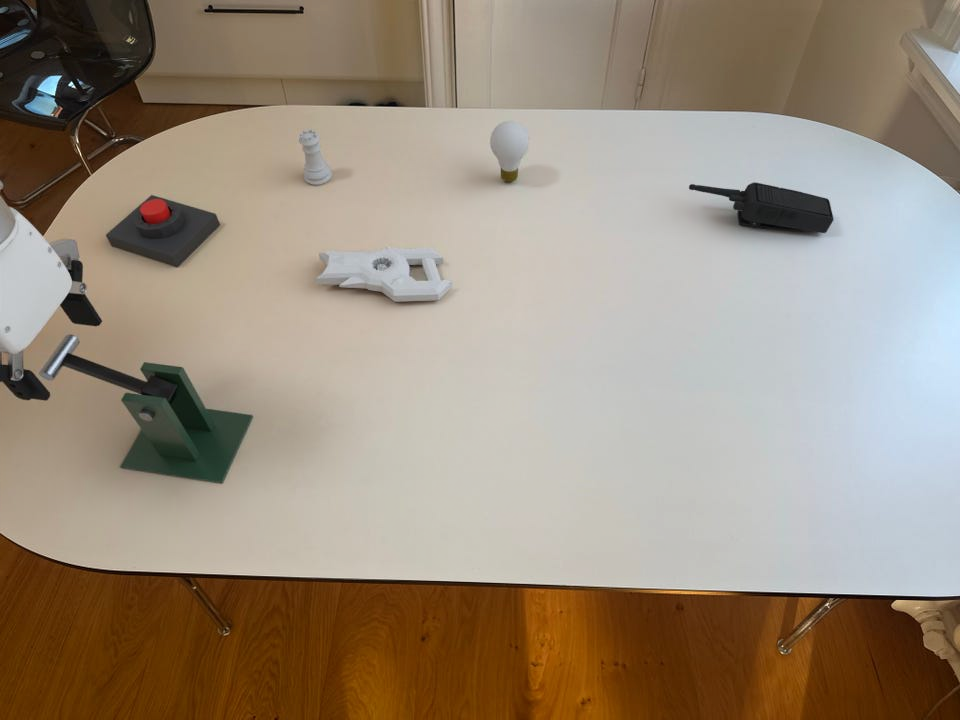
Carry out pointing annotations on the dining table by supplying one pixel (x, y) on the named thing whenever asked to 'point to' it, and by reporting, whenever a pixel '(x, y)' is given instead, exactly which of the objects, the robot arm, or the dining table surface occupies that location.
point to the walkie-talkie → (776, 207)
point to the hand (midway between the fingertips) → (63, 358)
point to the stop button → (155, 211)
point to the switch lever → (103, 372)
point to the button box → (164, 233)
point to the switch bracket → (182, 431)
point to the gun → (386, 272)
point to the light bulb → (509, 147)
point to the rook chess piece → (314, 159)
